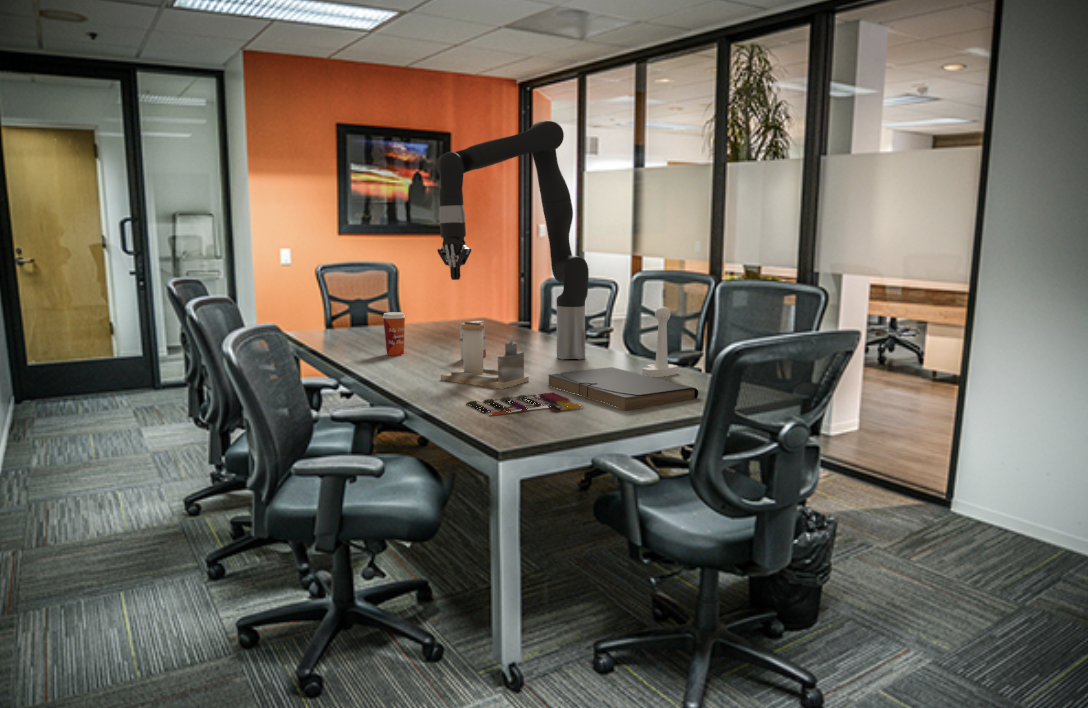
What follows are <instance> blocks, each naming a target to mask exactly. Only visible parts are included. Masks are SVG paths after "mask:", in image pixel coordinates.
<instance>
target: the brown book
mask: <svg viewBox="0 0 1088 708" xmlns="http://www.w3.org/2000/svg"><path fill="white" fill-rule="evenodd" d="M547 376H548V378H547V379H548V387H549V386H552V387H551V388H553V387H555V388H554V389H556V388H558V389H557V390H559V389H561V390H560V391H562V390H565V391H568V392H571V393H575V394H579V395H582V396H585V397H588V398H590V399H589V400H591V399H594V400H593V401H595V400H598V401H602V402H605V403H608V404H610V405H609V406H611V405H613V406H612V407H614V406H616V407H618V408H617V409H619V408H620V409H619V410H622V409H624V410H626V411H630V410H636V409H642V408H643V409H644V408H649V407H656V406H661V405H665V404H671V403H675V402H676V403H677V402H681V401H682V402H683V401H687V400H695V399H698V396H699V390H698V389H697V388H696V387H693V386H688V385H684V384H681V383H677V382H672V381H670V380H669V381H668V380H664V379H661V378H658V377H654V378H653V377H649V376H646V375H643V374H642V373H641V374H640V373H637V372H633V371H629V370H624V369H620V368H616V367H610V366H609V367H600V368H592V369H591V368H589V369H583V370H573V371H572V370H571V371H565V372H564V371H562V372H560V373H554V374H553V373H552V374H547ZM565 391H564V392H565ZM568 392H567V393H568ZM571 393H570V394H571ZM575 394H574V395H575ZM579 395H578V396H579ZM582 396H581V397H582ZM585 397H584V398H585ZM588 398H587V399H588ZM598 401H597V402H598ZM602 402H601V403H602ZM605 403H604V404H605ZM608 404H607V405H608ZM616 407H615V408H616ZM624 410H623V411H624Z"/></svg>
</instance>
